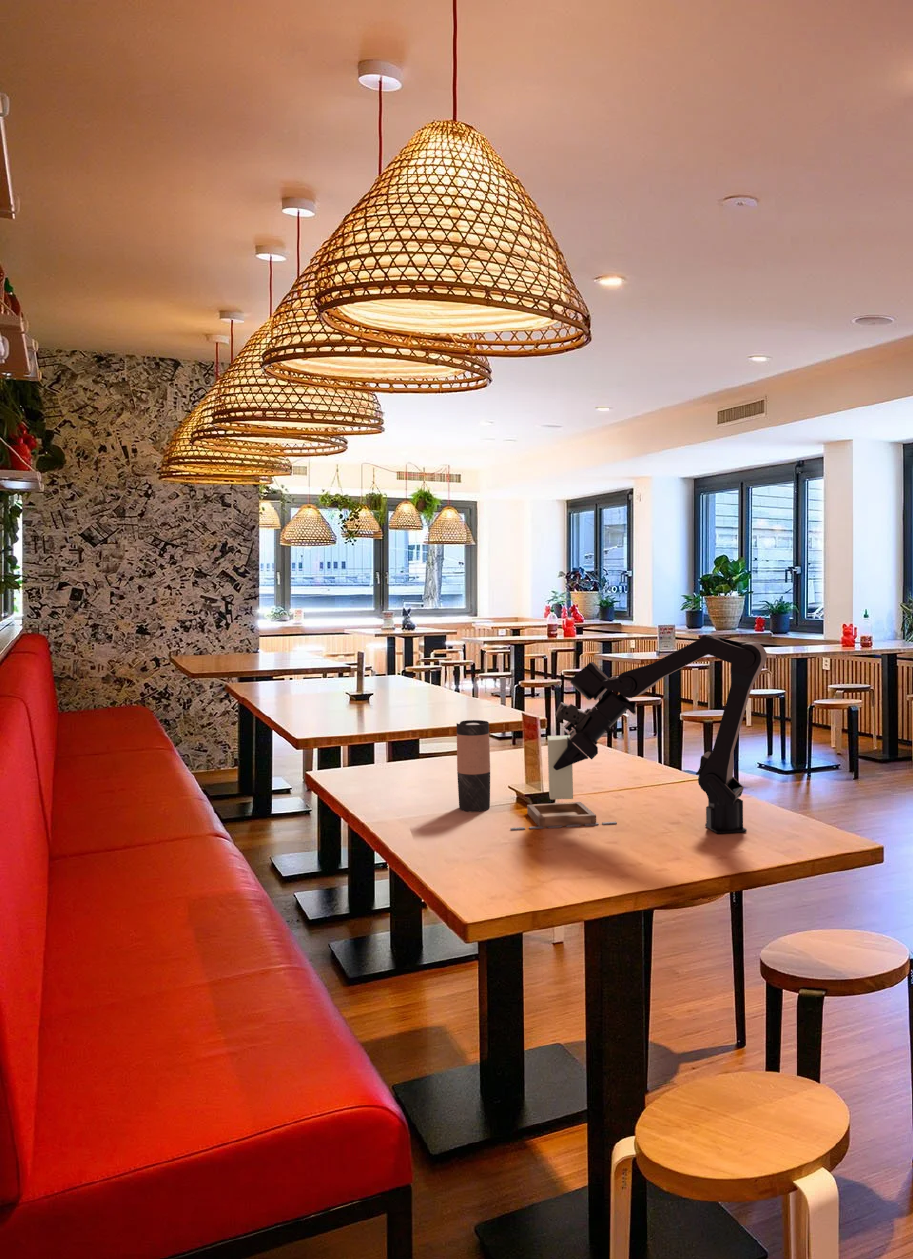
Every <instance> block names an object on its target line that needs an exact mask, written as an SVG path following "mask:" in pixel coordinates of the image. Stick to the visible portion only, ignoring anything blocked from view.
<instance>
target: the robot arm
mask: <svg viewBox="0 0 913 1259" xmlns="http://www.w3.org/2000/svg"><path fill="white" fill-rule="evenodd" d="M706 656H711V657H714V658H717V659H719V660H721V661H724V662H726V663H729V664H730V687H729V691H728V695H727V698H726V702H725V706H724V708H723V709H724V710H723V713H722V716H721V719H720V724H719V727H718V730H717V733H716V734H717V735H716V737H715V741H714V745H713V747H712V751H707V752H705V753H704V754H702V755H701V756H700V761H699V768H698V770H697V771H696V773H695V775H696V776H698V778H697V782H698V785H699V787H700V789H701V790H702V791H703V793H705V794H706V796H707V800H708V801H707V802H708V804H707V806H705V824H704V825H705V827H706V828H707V829H710V830H711V831H713V832H714V833H715V834H731V833H732V834H733V833H744V832H747V828H745V827H744V800H743V799H740V797H742V794H743V792H744V790H745V789H744V786H743V785H742V784H741V783H740V782H739V781H738V779H736V778H735V777H734V768H735V760H734V759H735V758H734V757H735V754H734V752H735V751H734V750H735V749H736V748H735V747H736V744H737V740H738V737H739V734H740V730H741V726H742V722H743V720H744V716H745V712H746V708H747V705H748V702H749V698H750V694H751V692H752V688H753V687H754V685H755V682H756V681H757V679H758V678H759V676H760V674H761V672H762V670H763V668H764V665H765V663H766V662H767V659H768V658H767V657H768V653H767V650H766V649H765V647H764V646H763V645H761V644H760V643H759V642H754V641H750V642H745V643H743V642H740V641H738V640H737V641H736V640H734V639H733V640H732V639H729V638H726V637H725V638H723V637H721V636H718V635H716V634H715V633H714V634H713V633H712V634H711V633H709V634H705V635H702V636H700V638H698V639H697V640H695V641H693V642H691V643H689V644H687V645H685V646H683V647H681V648H680V649H678V650H676V651H674V652H672V653H670V654H668V655H666V656H665V657H662V658H660V659H658V660H657V661H655V662H651V663H649V664H646V665H641V666H639V667H636V668H632V669H630V670H627V671H623V672H622V673H620V674H619V675H618V676H615V675H614V676H611V677H608V676H607V675H606V674H605V673H604V672H603V671H602V670H601V669H600V668H599V666H598V665H597V664H596V663H595V662H594V661H591V662H588V663H587V664H586V666H584V667H583V668H581V670H579V672H577V673H575V675H574V676H573V677H572V679H571V680H570V684H571V685H572V686H573V687H574V688H575V689H576V690H577V691H578V692H579V693H580V694H581V695H583V697H584V698H585V699H586V700H587V701H591V700H592V699H593V700H594V701H598V702H596V703H595V704H594V706H593V707H592V708H590V707H589V708H586V710H584V711H582V710H580V709H579V708H578V706H577V705H574V704H573V703H570V704H567V703H564V702H562V701H561V702H560V703H559V705H558V708H557V710H556V711H555V714H554V716H555V718H557V719H559V720H561V721H562V720H564V721H566V724H565V725H564V726H563V728H564V729H565V730H563V736H564V735H570V737H569V738H570V739H569V738H568V737H567V747H566V749H565V750H564V752H563V753H562V755H561V756H560V757H559V759H558V760H557V762H556V763H555V765H554V766H553V767H554V769H555V770H559V769H562V768H564V767H567V766H569V765H571V764H572V765H574V764H576V763H579V762H582V761H584V760H588V759H590V760H593V759H594V758H595V757H596V756H597V755H598V752H599V751H598V750H599V749H598V748H599V747H598V746H597V745H598V743H599V742H598V741H599V740H600V739H601V738H602V737H603V736H604V735H605V733H610V731H611V730H612V726H613V725H614V724H615V723H616V722H617V721H618V720H619V719H620V718H621V717H622V716H623V715H624V714H625V713H626V712H627V711H629V712H630V713H631V714H633V716H636V715H637V704H638V703H637V701H631V700H630V699H633V698H635V697H638V696H640V695H642V694H643V695H644V694H645V693H646V692H647V691H649V690H650V689H651V688H653V687H654V686H655V685H657V684H658V683H659V682H660V681H661V680H662V679H663V678H665V677H667V676H668V675H672V674H673V673H674V672H677V671H679V670H680V669H682V668H684V667H687V666H688V665H690V664H693V663H695V662H696V661H698V660H700V659H702V658H704V657H706ZM606 691H607V692H606ZM615 692H618V694H616V693H615ZM603 695H604V696H603ZM600 698H601V699H600Z"/></svg>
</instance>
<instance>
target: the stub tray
mask: <svg viewBox="0 0 913 1259" xmlns="http://www.w3.org/2000/svg"><path fill="white" fill-rule="evenodd" d="M526 809H527V810H526V811H527V812H526V814H527V815H528V816H529V817H530V819H531V820H532V821H533V822H534V823H535V824H536V826H543V827H544V828H548V826H555V825H562V827H566V825H571V824H580V826H584V824H588V823H597V814H595V813H594V811H592V810H591V809H589V808H588V807H587V806H586V805H585V804H584V803H583V802H582V801H575V802H573V801H572V802H553V803H551V802H550V803H537V804H534V803H533V804H527V805H526ZM544 828H543V829H544Z"/></svg>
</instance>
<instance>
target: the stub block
mask: <svg viewBox="0 0 913 1259" xmlns="http://www.w3.org/2000/svg"><path fill="white" fill-rule="evenodd" d="M567 737H568V738H569V737H570V735H564V734H563V735H547V737H546V738H547V765H548V766H547V769H548V795H549V799H550V800H573V799H574V782H573V781H574V780H573V779H574V777H573V774H574V772H573V764H571V765H569V766H567V767H564V768H562V769H559V770H555V769H554V767H553V766H554V765H555V763H556V762H557V760H558V759H559V757H560V756H561V755H562V753H563V752H564V750H565V749H566V747H567ZM569 739H570V738H569Z"/></svg>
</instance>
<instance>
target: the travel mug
mask: <svg viewBox="0 0 913 1259" xmlns="http://www.w3.org/2000/svg"><path fill="white" fill-rule="evenodd" d="M490 745H491V744H490V722H489V721H487V720H483V719H481V720H479V719H473V720H472V719H469V720H468V719H467V720H461V721H460V722H459V723H458V722H456V770H457V773H456V774H457V790H458V808H459V810H460V809H461V811H463V810H464V811H463V812H468V811H479V812H485V811H488V810H489V809H490V807H491V754H490V753H491V752H490V751H491V750H490Z"/></svg>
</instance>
